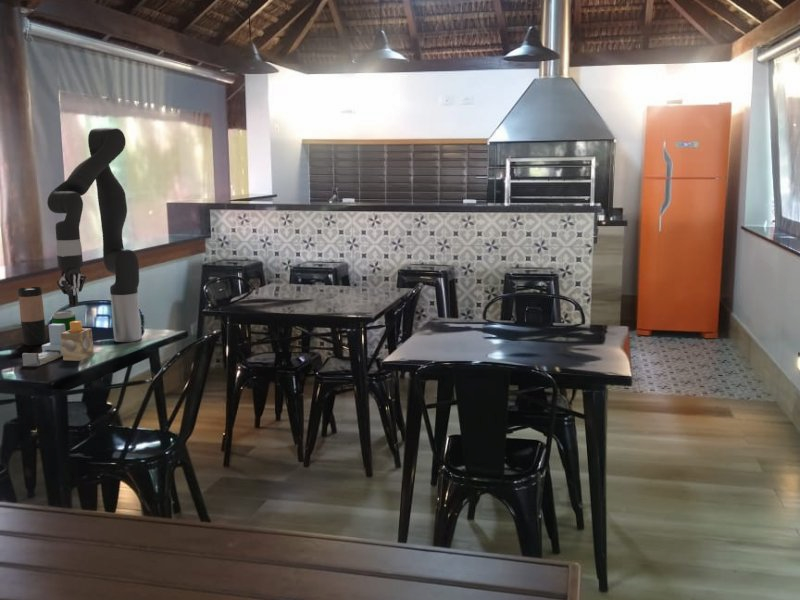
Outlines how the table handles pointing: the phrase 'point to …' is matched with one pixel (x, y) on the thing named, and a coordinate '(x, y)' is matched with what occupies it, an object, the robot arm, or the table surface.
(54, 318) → the soda can
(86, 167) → the robot arm
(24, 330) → the travel mug
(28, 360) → the rail
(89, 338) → the open wooden box
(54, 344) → the carriage
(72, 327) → the orange rounded piece
